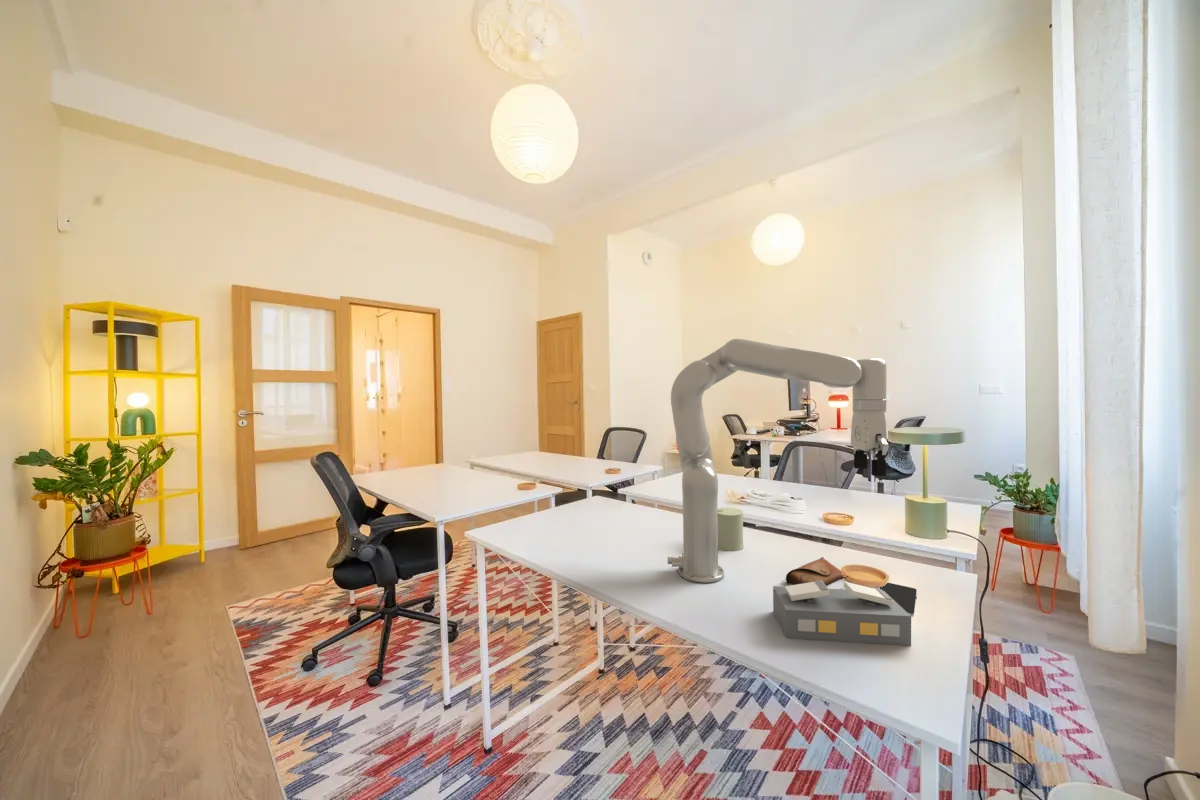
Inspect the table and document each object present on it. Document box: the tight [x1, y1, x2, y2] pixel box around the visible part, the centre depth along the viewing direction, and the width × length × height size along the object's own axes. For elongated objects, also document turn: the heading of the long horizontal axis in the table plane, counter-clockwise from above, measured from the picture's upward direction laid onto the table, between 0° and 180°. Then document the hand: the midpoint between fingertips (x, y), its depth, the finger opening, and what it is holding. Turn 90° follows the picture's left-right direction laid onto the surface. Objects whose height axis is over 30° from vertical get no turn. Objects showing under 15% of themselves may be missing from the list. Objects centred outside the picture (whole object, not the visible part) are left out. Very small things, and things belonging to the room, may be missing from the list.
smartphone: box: [877, 582, 918, 617], centre depth 108 cm, size 8×1×15 cm
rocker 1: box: [784, 580, 830, 601], centre depth 97 cm, size 8×4×1 cm, turn 81°
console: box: [772, 585, 912, 647], centre depth 96 cm, size 24×11×7 cm, turn 82°
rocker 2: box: [843, 581, 893, 606], centre depth 95 cm, size 8×4×1 cm, turn 82°
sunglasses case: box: [785, 556, 844, 587], centre depth 120 cm, size 18×7×7 cm, turn 126°
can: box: [717, 507, 744, 552], centre depth 146 cm, size 9×9×12 cm
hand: (869, 471), depth 115 cm, fingers open, 9 cm apart
